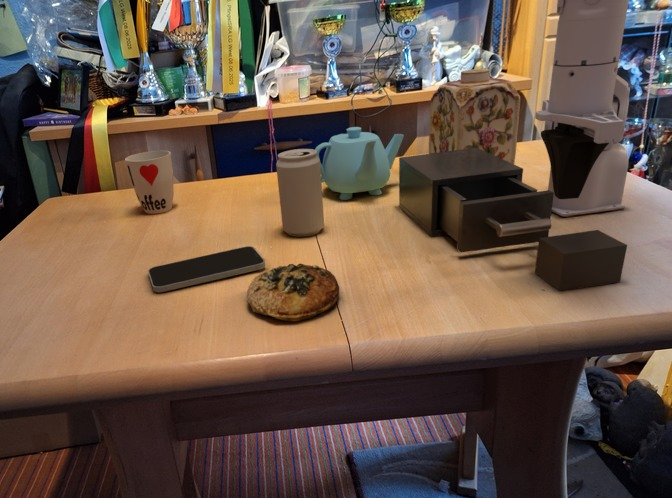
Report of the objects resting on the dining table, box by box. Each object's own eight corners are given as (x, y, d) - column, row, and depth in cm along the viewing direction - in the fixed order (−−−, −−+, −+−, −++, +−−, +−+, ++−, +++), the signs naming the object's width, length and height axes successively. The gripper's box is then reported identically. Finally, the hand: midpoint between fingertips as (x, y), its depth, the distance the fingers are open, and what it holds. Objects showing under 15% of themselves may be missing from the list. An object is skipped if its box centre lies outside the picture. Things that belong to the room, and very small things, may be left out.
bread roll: (352, 282, 67) (347, 245, 65) (323, 339, 59) (316, 300, 57) (270, 277, 72) (262, 243, 70) (232, 329, 64) (221, 293, 61)
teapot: (412, 184, 102) (413, 120, 97) (375, 206, 93) (374, 137, 88) (341, 178, 111) (338, 119, 106) (301, 197, 102) (296, 134, 97)
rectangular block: (592, 264, 66) (598, 229, 64) (620, 282, 61) (627, 244, 59) (534, 273, 65) (538, 237, 63) (558, 291, 61) (564, 253, 59)
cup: (128, 215, 103) (115, 161, 98) (152, 202, 109) (141, 150, 105) (165, 217, 100) (154, 161, 95) (188, 203, 106) (178, 150, 102)
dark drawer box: (569, 254, 67) (577, 203, 64) (476, 267, 66) (480, 216, 63) (498, 209, 83) (501, 167, 80) (423, 219, 83) (424, 177, 80)
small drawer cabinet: (517, 225, 79) (523, 168, 76) (431, 237, 79) (432, 180, 75) (473, 197, 92) (476, 147, 89) (399, 207, 92) (399, 157, 88)
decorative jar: (455, 183, 100) (460, 76, 92) (426, 169, 110) (428, 71, 102) (516, 174, 101) (526, 67, 93) (482, 161, 112) (489, 63, 104)
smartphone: (147, 268, 77) (251, 244, 80) (148, 274, 77) (252, 250, 80) (153, 288, 70) (266, 262, 74) (154, 295, 71) (267, 268, 74)
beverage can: (321, 237, 83) (316, 156, 77) (279, 239, 84) (271, 159, 79) (326, 223, 88) (322, 146, 83) (286, 224, 90) (279, 148, 84)
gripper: (518, 61, 62) (508, 182, 68) (572, 73, 49) (553, 221, 55) (585, 54, 61) (568, 177, 67) (658, 65, 48) (629, 216, 54)
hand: (566, 197), depth 61 cm, fingers closed
